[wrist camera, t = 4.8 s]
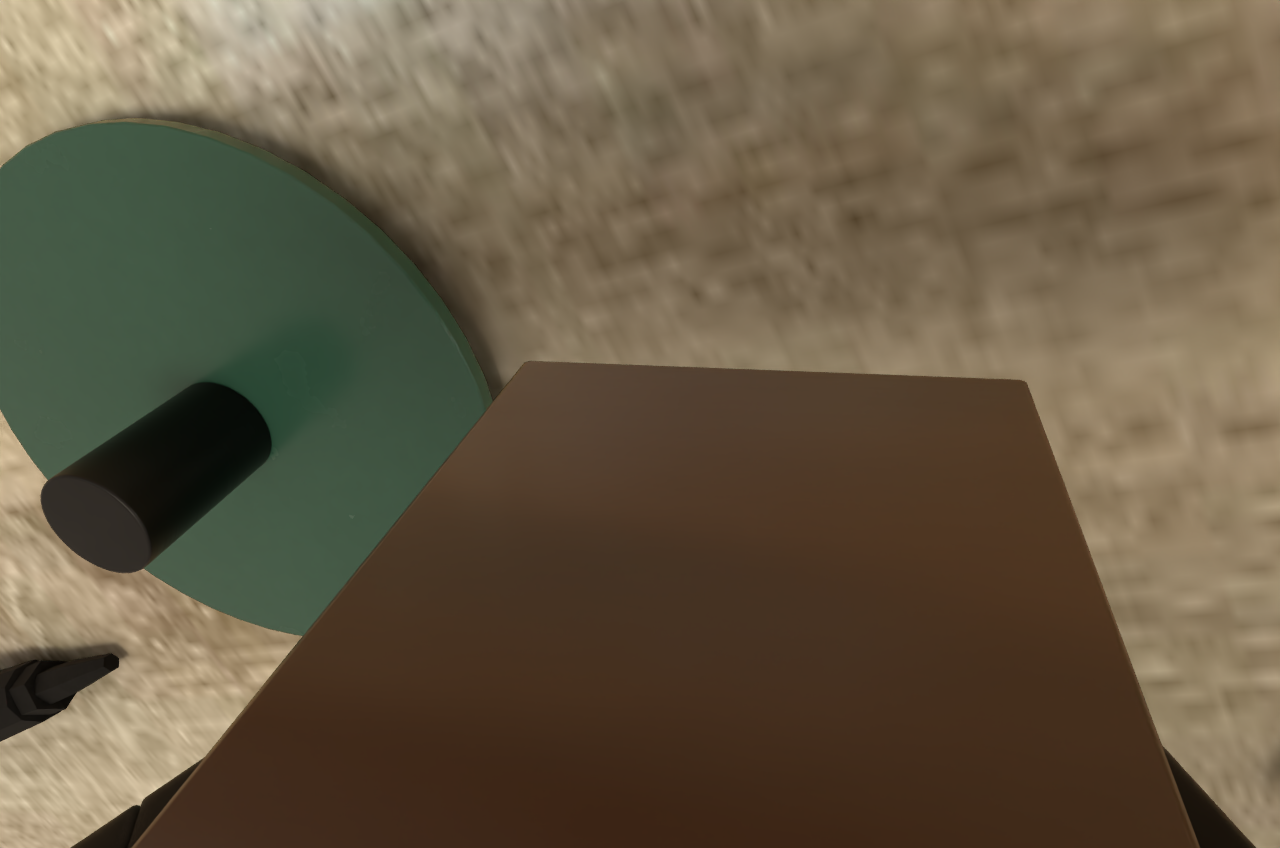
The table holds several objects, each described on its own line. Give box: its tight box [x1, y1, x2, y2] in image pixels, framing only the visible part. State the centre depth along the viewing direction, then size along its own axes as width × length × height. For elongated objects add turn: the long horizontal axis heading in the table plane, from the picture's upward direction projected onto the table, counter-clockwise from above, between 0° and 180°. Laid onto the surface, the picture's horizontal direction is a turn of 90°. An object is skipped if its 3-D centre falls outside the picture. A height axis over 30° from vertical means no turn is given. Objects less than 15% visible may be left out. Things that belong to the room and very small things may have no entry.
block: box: [132, 361, 1200, 848], centre depth 6 cm, size 5×5×5 cm
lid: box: [0, 118, 493, 636], centre depth 19 cm, size 15×15×5 cm
